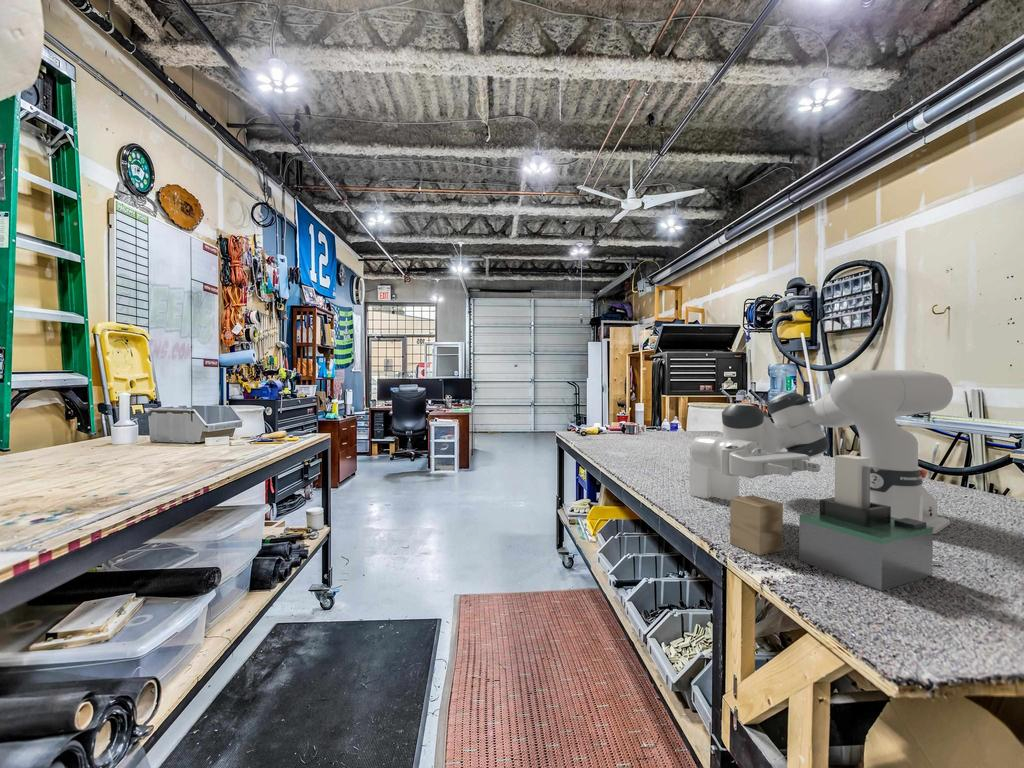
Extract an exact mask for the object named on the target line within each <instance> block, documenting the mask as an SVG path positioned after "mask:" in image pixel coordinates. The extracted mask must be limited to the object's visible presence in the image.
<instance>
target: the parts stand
mask: <svg viewBox="0 0 1024 768" xmlns="http://www.w3.org/2000/svg"><path fill="white" fill-rule="evenodd" d="M729 502H730V505H729V506H730V511H729V512H730V513H729V514H730V516H729V518H730V524H729V525H730V526H729V531H730V532H729V544H730V545H732V544H733V545H732V546H734V545H735V547H737V546H738V547H737V548H739V547H740V548H739V549H742V548H743V549H742V550H744V549H745V550H744V551H746V552H748V553H751V552H752V554H754V555H756V554H757V556H759V557H760V556H764V554H765V555H768V553H770V554H773V553H779V552H783V536H784V535H783V532H784V530H783V528H784V526H783V525H784V522H783V520H784V518H783V517H784V514H783V512H784V511H783V509H784V503H783V502H779V501H775V500H772V499H769V498H764V497H760V496H758V495H757V496H756V495H753V494H752V495H746V496H738V497H736V498H731V500H730V501H729ZM778 551H779V552H778Z"/></svg>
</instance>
